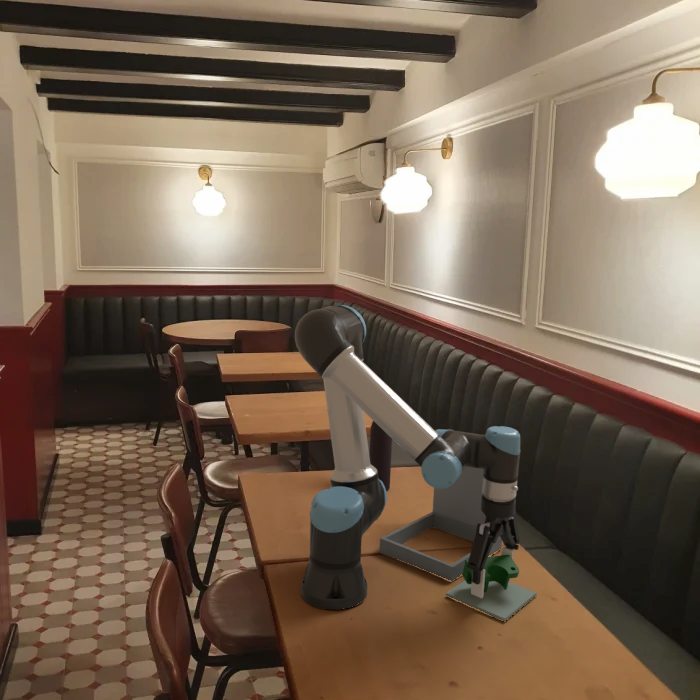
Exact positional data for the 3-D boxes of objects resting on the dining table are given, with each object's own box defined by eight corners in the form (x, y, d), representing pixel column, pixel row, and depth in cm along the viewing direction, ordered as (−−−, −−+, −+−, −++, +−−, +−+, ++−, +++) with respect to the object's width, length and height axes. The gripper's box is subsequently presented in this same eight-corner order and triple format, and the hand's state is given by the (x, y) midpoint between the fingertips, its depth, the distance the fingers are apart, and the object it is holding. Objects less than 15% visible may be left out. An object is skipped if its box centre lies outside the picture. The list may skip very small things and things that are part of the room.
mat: (504, 623, 147) (505, 618, 147) (445, 597, 157) (445, 593, 157) (536, 596, 159) (536, 592, 159) (479, 574, 168) (479, 570, 168)
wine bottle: (390, 485, 225) (394, 396, 220) (389, 493, 218) (393, 401, 213) (368, 483, 226) (372, 394, 220) (367, 491, 219) (370, 400, 213)
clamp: (477, 607, 156) (469, 580, 152) (466, 589, 161) (458, 562, 157) (524, 586, 157) (518, 558, 153) (512, 568, 162) (505, 541, 158)
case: (451, 582, 164) (457, 491, 160) (379, 552, 178) (383, 467, 174) (502, 549, 182) (509, 466, 178) (433, 524, 196) (438, 446, 192)
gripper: (485, 516, 142) (478, 612, 146) (539, 486, 160) (531, 571, 164) (454, 506, 147) (448, 598, 151) (510, 478, 165) (503, 560, 169)
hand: (491, 584), depth 157 cm, fingers closed on clamp, 12 cm apart
